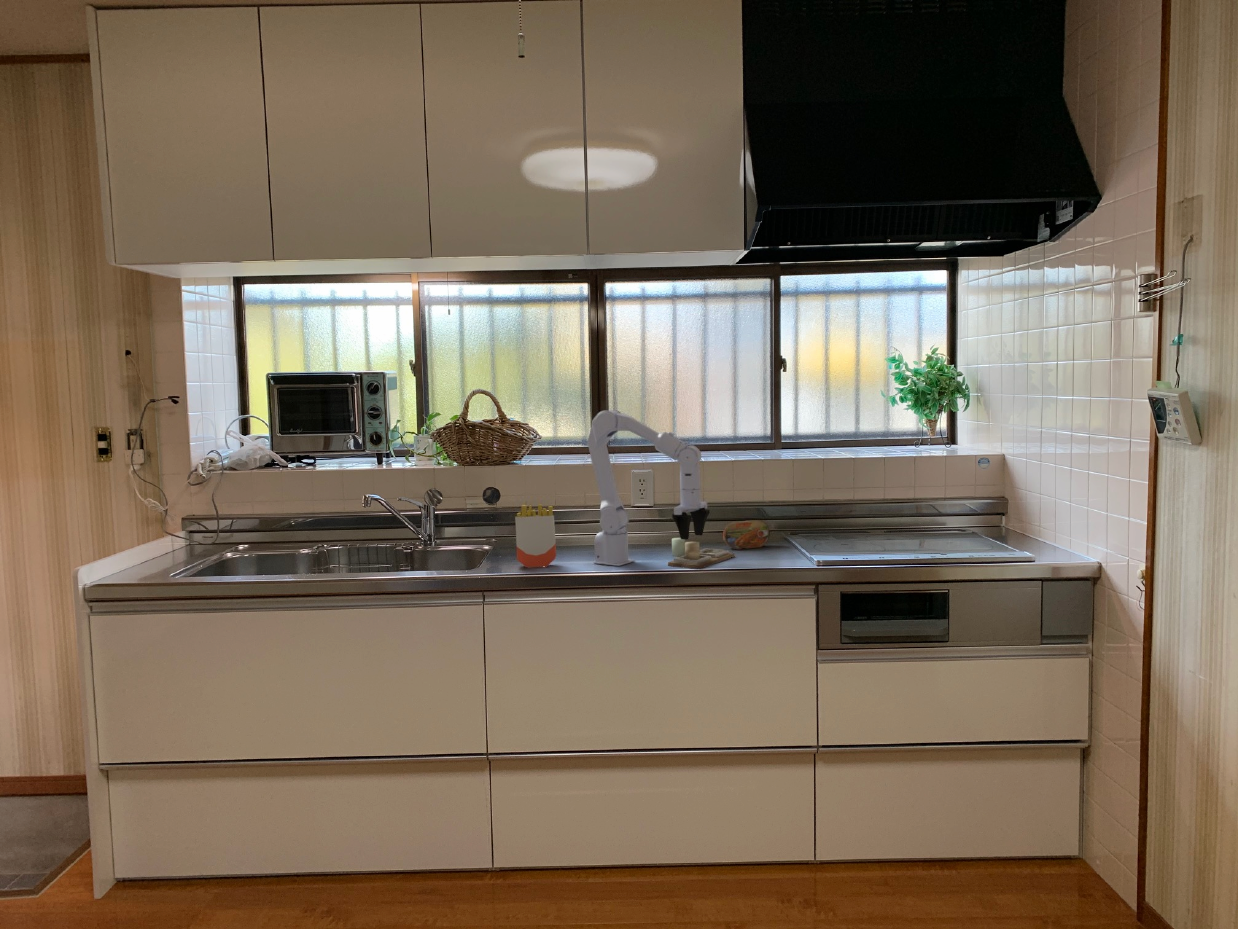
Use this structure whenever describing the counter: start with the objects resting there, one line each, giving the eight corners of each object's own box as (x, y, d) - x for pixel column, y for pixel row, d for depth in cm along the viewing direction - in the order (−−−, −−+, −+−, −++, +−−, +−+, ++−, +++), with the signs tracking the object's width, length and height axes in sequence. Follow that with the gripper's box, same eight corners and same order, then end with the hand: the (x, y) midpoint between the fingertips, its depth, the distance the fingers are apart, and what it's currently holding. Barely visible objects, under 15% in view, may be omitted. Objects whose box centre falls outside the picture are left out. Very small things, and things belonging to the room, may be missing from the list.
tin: (725, 550, 254) (725, 523, 254) (721, 548, 258) (721, 521, 257) (770, 546, 258) (770, 519, 258) (766, 544, 261) (765, 518, 261)
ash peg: (682, 561, 234) (682, 543, 234) (690, 558, 237) (689, 541, 237) (695, 562, 232) (694, 544, 231) (702, 559, 235) (701, 542, 235)
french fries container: (519, 565, 243) (516, 504, 241) (556, 564, 243) (554, 502, 241) (517, 568, 238) (514, 506, 237) (555, 567, 238) (552, 504, 237)
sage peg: (669, 555, 249) (669, 539, 248) (676, 553, 252) (676, 537, 252) (681, 557, 246) (680, 540, 246) (688, 554, 250) (687, 538, 249)
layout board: (668, 565, 234) (667, 558, 233) (704, 554, 250) (704, 547, 249) (698, 569, 228) (698, 561, 228) (734, 556, 244) (734, 549, 243)
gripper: (688, 492, 225) (690, 542, 226) (715, 486, 236) (717, 534, 237) (667, 491, 229) (668, 540, 230) (694, 486, 241) (695, 532, 242)
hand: (691, 537), depth 234 cm, fingers open, 7 cm apart
